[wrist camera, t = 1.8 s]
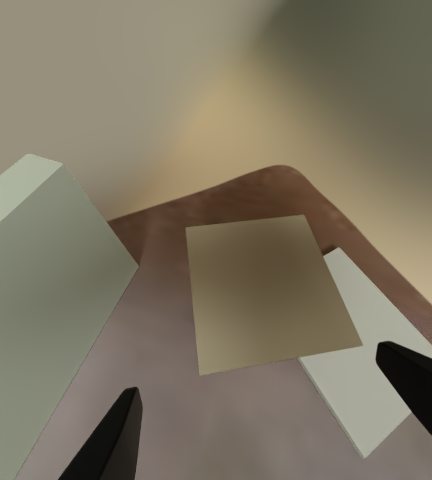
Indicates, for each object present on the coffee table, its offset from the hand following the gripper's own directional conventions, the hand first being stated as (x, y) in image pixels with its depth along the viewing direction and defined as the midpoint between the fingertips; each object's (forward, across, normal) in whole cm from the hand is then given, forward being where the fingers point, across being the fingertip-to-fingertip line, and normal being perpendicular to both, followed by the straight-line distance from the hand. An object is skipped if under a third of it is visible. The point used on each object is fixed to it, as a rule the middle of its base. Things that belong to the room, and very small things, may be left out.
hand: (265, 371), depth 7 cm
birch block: (+9, 0, +5) cm, 10 cm away
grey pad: (+8, -10, +6) cm, 14 cm away
